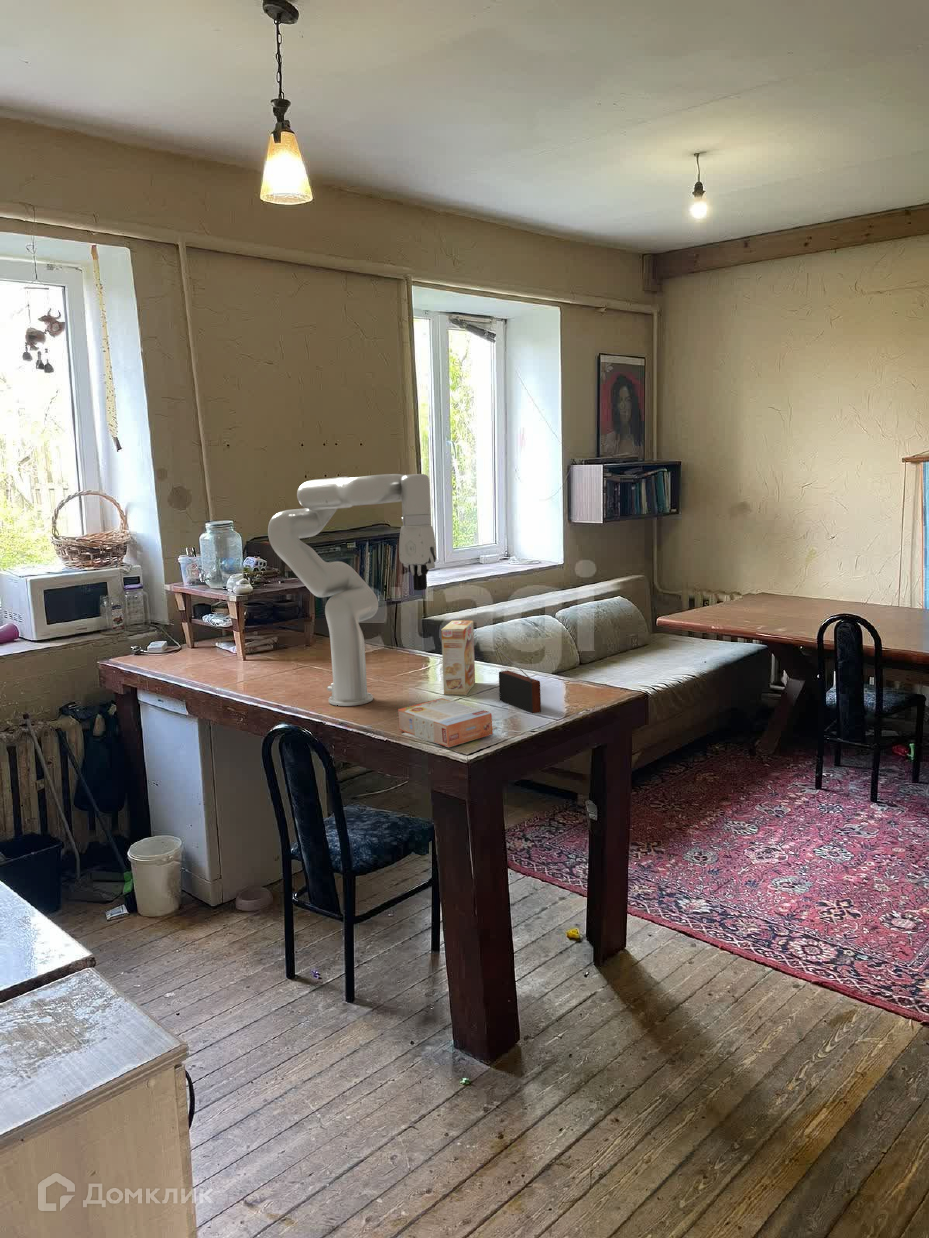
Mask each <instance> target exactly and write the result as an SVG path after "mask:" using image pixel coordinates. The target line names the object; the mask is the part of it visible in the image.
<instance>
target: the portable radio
mask: <svg viewBox="0 0 929 1238" xmlns="http://www.w3.org/2000/svg"><path fill="white" fill-rule="evenodd" d="M496 650H497V651H499V652H500V653H501V654H502V655H503V656H505V657H506V658H507V659H508V661H510V662H511V663H512V664H513V665H514V666H515V667H516V668H517V669H518V670H520V672H521V673H523V674H524V675H522V674H519V673H517V672H514V671H512V670H511V671H510V670H502V671H499V672H498V687H499V688H498V690H499V693H498V694H499V701H500V702H502V703H504V704H506V705H509V706H512V707H515V708H517V709H520V710H522V711H524V712H528V713H530V714H537V713H541V712H542V706H541V705H542V703H541V702H542V701H541V700H542V699H541V697H542V696H541V695H542V694H541V681H540V680H538V679H535V678H531V677H530V676H529V675H528V674H526V672H525V671H523V670H522V669H521V668H520V667H519V666H518V665H517V664H515V662H513V661H512V660H511V659H510V658H509V657H507V656H506V654H505V653H503V652H502V651H501V650H500V649H499V648H498V647H496Z"/></svg>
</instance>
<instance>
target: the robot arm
mask: <svg viewBox="0 0 929 1238" xmlns="http://www.w3.org/2000/svg"><path fill="white" fill-rule="evenodd" d="M296 498H297V501H298V503H299V504H300V505H301V507H303V508H296V509H295V508H294V509H286V510H281V511H279V512H277V513H275V514H274V515H273V516H272V517H271V518H270V520H269V521H268V526H267V536H268V539H269V540H268V541H269V544H270V546H271V548H272V550H273V551H274V553H275V554H276V555H277V556H278V557H279V558H280V560H282V561H283V562H284V563H285V564H286V565H287V566H288V568H290V570H292V572H293V573H294V575H295V576H296V577H297V578H298V579H299V580H300V581H301V583H302V584H303V586H305V587H306V588H307V589H308V590H309V592H310V593H311V594H312V595H313V596H315V597H317V598H328V597H329V598H328V600H327V601H326V603H325V608H324V615H325V618H326V623H327V627H328V632H329V641H330V652H331V654H330V657H331V671H332V683H330V685H328V686H327V687H326V690H327V691H329V692H331V696H329V697H328V703H329V704H330V705H333V706H337V705H338V707H339V706H341V707H354V706H359V705H364V704H368V703H371V702H372V701H373V700H374V695H373V694H372V693H370V692H368V686H367V685H368V684H367V667H366V649H365V647H366V646H365V638H364V634H363V630H362V629H361V626H360V623H361V622H364V621H366V620H369V619H372V618H373V617H374V616H375V615H376V614H377V612H378V610H379V600H378V597H377V595H376V594H375V592H374V591H373V590H372V588H371V586H369V585H368V584H367V582H365V580H364V579H363V578H362V576H361V575H359V573H357V572H356V570H355V569H354V568H353V567H352V566H350V565H349V564H347V563H346V562H343V561H338V560H337V561H329V562H328V561H326V560H323V558H321V556H320V555H318V552H316V551H315V550H314V549H313V548H312V547H311V546H310V545H308V544H306V543H305V542H303V541H302V540H301V539H305V538H312V537H315V536H316V535H318V534H320V533H321V531H323V530H324V528H325V526H326V525H327V524H328V523H329V521H330V520H331V519H332V517H333V516H334V514H335V513H336V512H337V510H338V509H349V508H352V507H355V506H365V505H366V506H367V505H379V504H389V503H399V502H401V510H402V511H401V512H402V514H401V515H402V517H401V522H402V526H401V527H400V531H399V538H398V539H399V542H398V556H399V562H400V563H402V564H403V567H404V568H407V569H409V571H410V573H411V576H412V577H413V578H412V580H413V590H414V591H424V590H427V576H426V575H428V573H429V570H431V569H435V567H436V564H435V563H436V561H437V545H436V537H435V532H434V531H435V530H434V527H433V526H432V512H431V509H432V508H431V489H430V477H429V476H428V474H424V473H413V474H410V473H409V474H399V473H391V474H390V473H385V474H383V473H382V474H374V475H365V476H362V475H361V476H355V477H354V476H353V477H349V476H339V477H329V478H319V479H318V478H317V479H310V480H307V481H305V482H303V483H302V484H301V485H299V487H298V489H297V491H296Z"/></svg>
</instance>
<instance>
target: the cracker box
mask: <svg viewBox="0 0 929 1238" xmlns="http://www.w3.org/2000/svg"><path fill="white" fill-rule="evenodd" d="M397 715H398V729H399V730H400V731H401V732H403V733H409V734H412V735H415V736H418V737H420V738H423V739H426V740H429V741H432V742H431V743H433V742H435V743H434V744H437V745H441V746H442V747H443V746H444V747H445V748H452V747H455V746H458V745H462V744H464V743H468V742H471V741H474V740H478V739H481V738H486V737H488V736H492V735H493V734H494V732H493V731H494V730H493V729H492V726H493V716H492V715H493V713H492V712H490V711H487V710H483V709H482V708H481V709H480V708H477V707H474V706H469V705H466V704H463V703H460V702H456V701H453V700H449V699H446V698H442V697H441V698H437V699H433V700H430V701H426V702H422V703H418V704H413V705H410V706H407V707H402V708H398V710H397ZM429 741H428V742H429Z"/></svg>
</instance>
